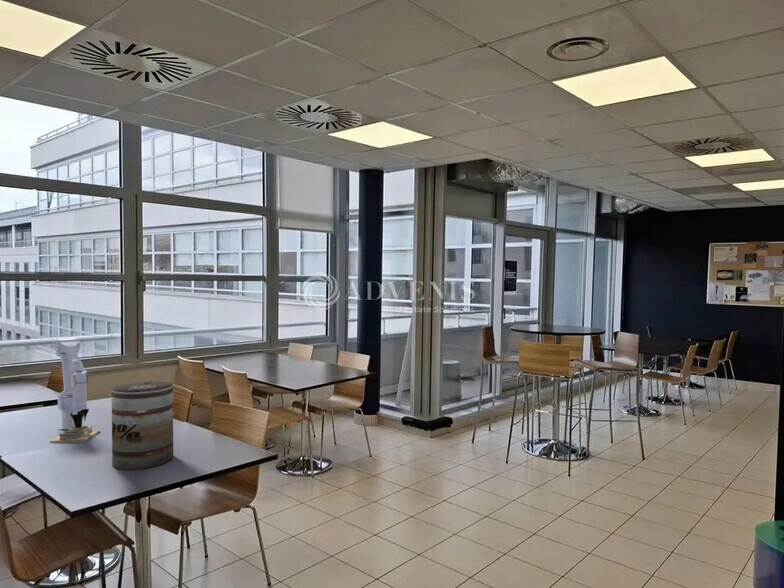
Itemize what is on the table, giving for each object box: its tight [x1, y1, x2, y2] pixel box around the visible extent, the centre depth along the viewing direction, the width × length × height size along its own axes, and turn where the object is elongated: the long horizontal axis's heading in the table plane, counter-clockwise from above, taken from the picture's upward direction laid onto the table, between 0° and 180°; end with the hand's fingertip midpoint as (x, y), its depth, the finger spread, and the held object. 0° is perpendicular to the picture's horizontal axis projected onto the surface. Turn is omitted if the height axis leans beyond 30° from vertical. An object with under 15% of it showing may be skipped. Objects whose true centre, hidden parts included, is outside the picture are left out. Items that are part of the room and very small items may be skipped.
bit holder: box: [49, 425, 101, 444], centre depth 249 cm, size 16×14×4 cm
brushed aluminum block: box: [72, 415, 86, 430], centre depth 252 cm, size 4×4×7 cm
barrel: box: [111, 380, 174, 471], centre depth 217 cm, size 22×22×30 cm
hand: (80, 426), depth 252 cm, fingers closed on brushed aluminum block, 4 cm apart
